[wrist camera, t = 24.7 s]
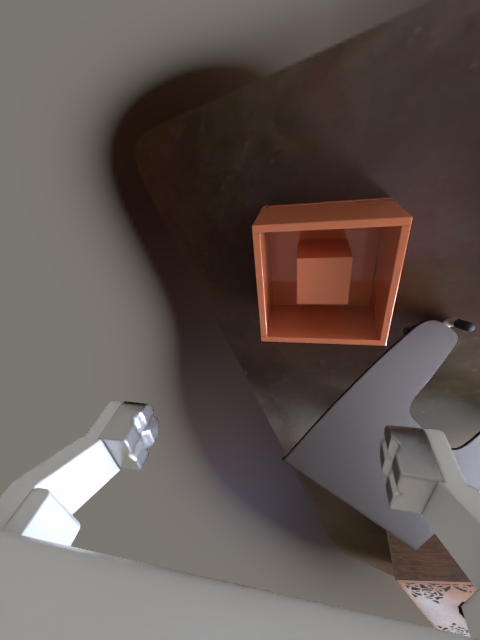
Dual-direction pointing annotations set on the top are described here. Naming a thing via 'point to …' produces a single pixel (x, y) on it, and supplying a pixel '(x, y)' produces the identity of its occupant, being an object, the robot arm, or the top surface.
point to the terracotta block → (323, 271)
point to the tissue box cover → (433, 582)
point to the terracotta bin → (366, 276)
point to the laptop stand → (381, 430)
